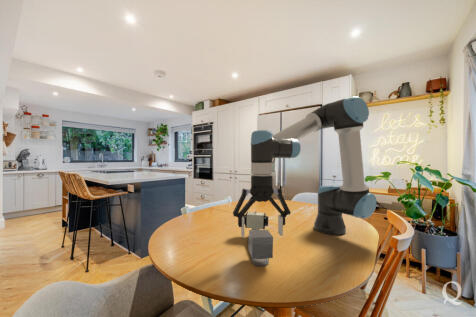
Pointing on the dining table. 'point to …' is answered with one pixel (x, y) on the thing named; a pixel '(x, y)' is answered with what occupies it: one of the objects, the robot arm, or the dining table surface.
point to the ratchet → (260, 260)
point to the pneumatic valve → (255, 220)
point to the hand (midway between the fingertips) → (261, 235)
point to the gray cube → (260, 244)
